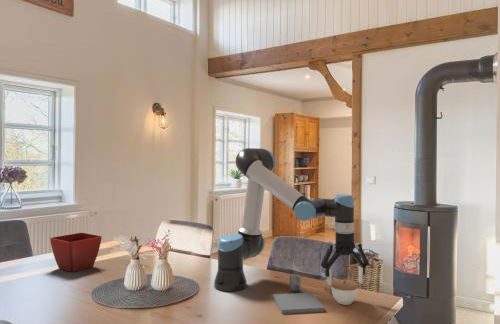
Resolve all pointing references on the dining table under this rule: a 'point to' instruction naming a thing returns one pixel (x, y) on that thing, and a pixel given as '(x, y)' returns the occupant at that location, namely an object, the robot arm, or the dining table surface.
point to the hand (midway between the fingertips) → (345, 283)
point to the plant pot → (75, 251)
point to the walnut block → (328, 286)
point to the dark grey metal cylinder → (295, 283)
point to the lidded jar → (344, 291)
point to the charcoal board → (297, 303)
